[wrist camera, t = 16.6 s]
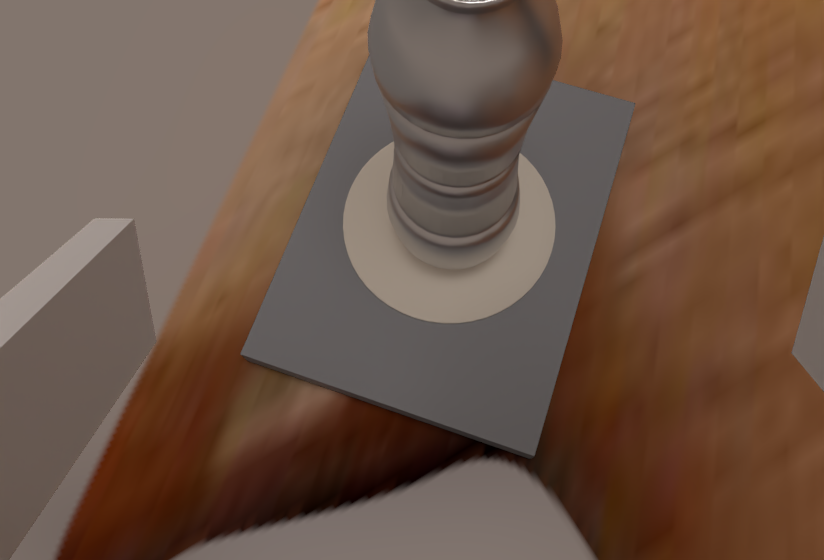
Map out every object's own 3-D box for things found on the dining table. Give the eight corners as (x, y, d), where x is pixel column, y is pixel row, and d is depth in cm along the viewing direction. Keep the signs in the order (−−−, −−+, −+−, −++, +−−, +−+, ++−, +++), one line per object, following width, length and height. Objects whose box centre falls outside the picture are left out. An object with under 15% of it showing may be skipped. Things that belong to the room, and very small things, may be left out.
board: (380, 48, 43) (378, 29, 41) (628, 117, 41) (636, 101, 39) (247, 360, 37) (239, 353, 35) (530, 459, 35) (534, 455, 33)
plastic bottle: (398, 290, 36) (364, 31, 17) (381, 170, 38) (336, -177, 19) (524, 272, 36) (630, -3, 17) (501, 154, 38) (572, -206, 19)
